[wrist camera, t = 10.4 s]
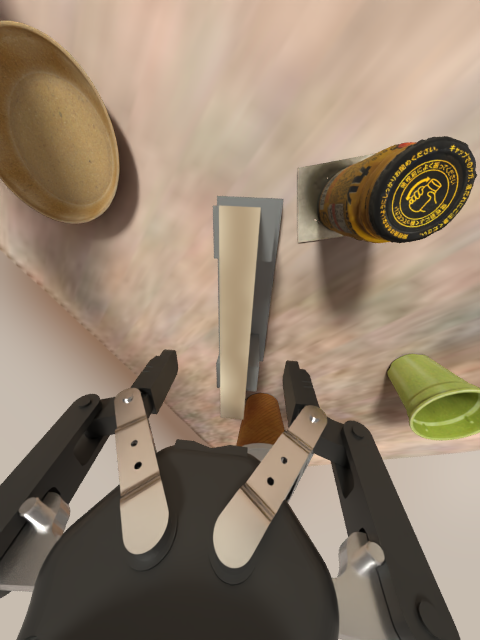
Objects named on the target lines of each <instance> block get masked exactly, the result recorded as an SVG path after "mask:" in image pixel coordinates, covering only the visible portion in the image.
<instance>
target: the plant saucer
mask: <svg viewBox="0 0 480 640" xmlns="http://www.w3.org/2000/svg"><path fill="white" fill-rule="evenodd" d="M0 178H1V180H2V181H3V182H4V183H5V185H6V186H7V187H8V188H9V189H10V190H11V191H12V192H13V193H14V194H15V195H16V196H17V197H18V198H19V199H21V200H22V201H23V202H25V203H26V204H27V205H28V206H30V207H31V208H33V209H34V210H36V211H37V212H39V213H41V214H42V215H44V216H46V217H49V218H51V219H54V220H56V221H60V222H64V223H70V224H78V223H85V222H89V221H92V220H94V219H96V218H97V217H99V216H100V215H102V214H103V213H104V212H105V211H106V210H107V208H108V207H109V206H110V204H111V202H112V200H113V198H114V196H115V193H116V190H117V186H118V180H119V152H118V146H117V141H116V136H115V132H114V129H113V126H112V123H111V120H110V117H109V115H108V112H107V110H106V107H105V105H104V103H103V101H102V99H101V97H100V95H99V93H98V91H97V90H96V88H95V86H94V85H93V83H92V81H91V80H90V78H89V77H88V76H87V74H86V73H85V71H84V70H83V69H82V67H81V66H80V65H79V64H78V63H77V61H76V60H75V59H74V58H73V57H72V56H71V55H70V54H69V53H68V52H67V51H66V50H65V49H64V48H63V47H62V46H61V45H60V44H58V43H57V42H56V41H55V40H53V39H52V38H51V37H49V36H48V35H46V34H45V33H43V32H41V31H39V30H38V29H35V28H33V27H31V26H28V25H26V24H24V23H20V22H15V21H0Z"/></svg>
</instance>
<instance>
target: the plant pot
mask: <svg viewBox="0 0 480 640" xmlns="http://www.w3.org/2000/svg"><path fill="white" fill-rule="evenodd" d="M387 373H388V377H389V378H390V380H391V382H392V384H393V386H394V387H395V389H396V391H397V393H398V395H399V397H400V399H401V401H402V403H403V404H404V406H405V408H406V410H407V415H408V417H409V425H410V427H411V429H412V431H413V432H414V433H415V434H417V435H419V436H420V437H423V438H426V439H431V440H454V439H460V438H464V437H468V436H471V435H474V434H477V433H479V432H480V388H479V387H477V386H475V385H472V384H469V383H468V382H466V381H464V380H463V379H461V378H460V377H458V376H456V375H455V374H453V373H452V372H450V371H449V370H447V369H446V368H444V367H442V366H441V365H439V364H438V363H436V362H435V361H433V360H432V359H430V358H429V357H427V356H425V355H416V354H408V355H405V356H402V357H400V358H398V359H396V360H395V361H394V362H393V363H392V364H391V367H390V369H389V370H388V372H387Z"/></svg>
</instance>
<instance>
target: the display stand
mask: <svg viewBox="0 0 480 640" xmlns="http://www.w3.org/2000/svg"><path fill="white" fill-rule="evenodd" d="M219 206H240V207H260V208H261V211H260V223H259V235H258V248H257V260H256V272H255V284H254V296H253V309H252V321H251V333H250V345H249V357H248V369H247V382H246V391H256V390H257V381H258V372H259V361H263V357H264V349H265V341H266V333H267V325H268V317H269V309H270V301H271V293H272V285H273V277H274V269H275V262H276V254H277V246H278V238H279V230H280V222H281V214H282V206H283V199H275V198H251V197H228V196H217V206H213V232H214V258H216V259H218V300H219V356H218V359H217V363H216V369H217V388H220V275H219Z"/></svg>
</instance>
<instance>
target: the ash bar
mask: <svg viewBox="0 0 480 640" xmlns="http://www.w3.org/2000/svg"><path fill="white" fill-rule="evenodd" d="M260 211H261V208H260V207H240V206H219V275H220V414H221V417H222V418H231V419H240V420H243V418H244V406H245V394H246V382H247V369H248V357H249V345H250V333H251V321H252V309H253V296H254V284H255V272H256V260H257V248H258V235H259V223H260Z"/></svg>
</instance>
